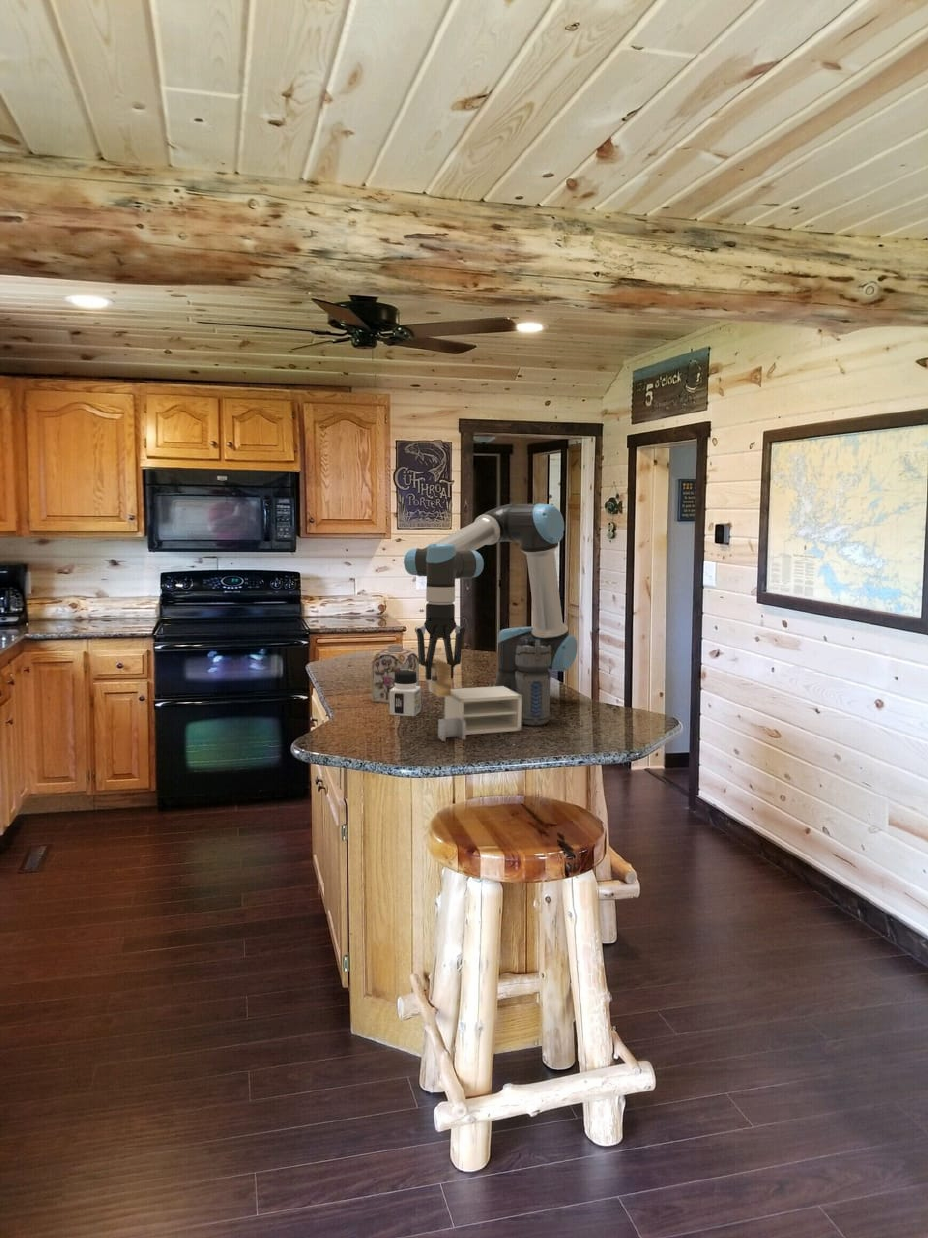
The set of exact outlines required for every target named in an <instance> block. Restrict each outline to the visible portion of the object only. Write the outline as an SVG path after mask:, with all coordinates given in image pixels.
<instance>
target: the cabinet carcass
mask: <svg viewBox="0 0 928 1238" xmlns="http://www.w3.org/2000/svg"><path fill="white" fill-rule="evenodd" d="M521 715H522V695H520V694H518V693H516V692H514V691H512V690H510V689H508V688H506V687H504V686H477V687H458V688H451V696H443V719H446V718H462V719H464V720H465V721H466V731H465V736H467V735H470V736H471V735H481V734H482V735H483V734H495V733H507V732H522V724H521Z"/></svg>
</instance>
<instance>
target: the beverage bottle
mask: <svg viewBox="0 0 928 1238" xmlns="http://www.w3.org/2000/svg"><path fill="white" fill-rule="evenodd" d="M534 644H535V645H534ZM515 661H516V665H517V667H518V669H519V670H517V671H516V672H515V692H516V693H518V694H520V695H522V715H521V725H524V726H532V727H533V726H534V727H535V726H542V725H545V724H547V723H548V722H549V721H550V715H551V713H550V712H551V677H552V675H551V674H552V673H551V671H550V670H548V669H549V667H550V666H551V646H550V645H549V646H548V647H545V646H540V639H535V641H534V638H532V637H531V636H530V637H526V639H525V646H519V645H518V646H517V649H516V656H515Z"/></svg>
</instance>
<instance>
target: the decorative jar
mask: <svg viewBox="0 0 928 1238" xmlns="http://www.w3.org/2000/svg"><path fill="white" fill-rule="evenodd" d="M403 647H404V646H403V644H395V643H394V644H393V643H391V644H388V645H387V648H385V649H381V650H377V652H376V653H375V655H374V657H373V658H372V660H371V702H374V703H380V704H381V703H382V704H389V705H390V690H391V689H392V688H394V687H395V672H396V671H398V670H413V671H415V672H416V686H420V667H419V666H420V664H419V660H418V655H417V654H416V652H414V651H413V650H410V649H403Z"/></svg>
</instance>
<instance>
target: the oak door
mask: <svg viewBox="0 0 928 1238" xmlns="http://www.w3.org/2000/svg"><path fill="white" fill-rule="evenodd" d="M432 667H434V668H435V676H432V681H434V693H432V694H433V695H434V696H436V697H444V696H451V689H452V688H451V687H452V685H451V683H452V679H451V665H449V664H447V661H444V660H442V659H440V658H433V663H432ZM424 673H425V674H424V675H425V677H424V678H425V679H424V680H425V681H424V682H425V683H424V686H425V687H424V688H425V689H426V690H427V691H429V680H427V679H426V671H425V672H424Z"/></svg>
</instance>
